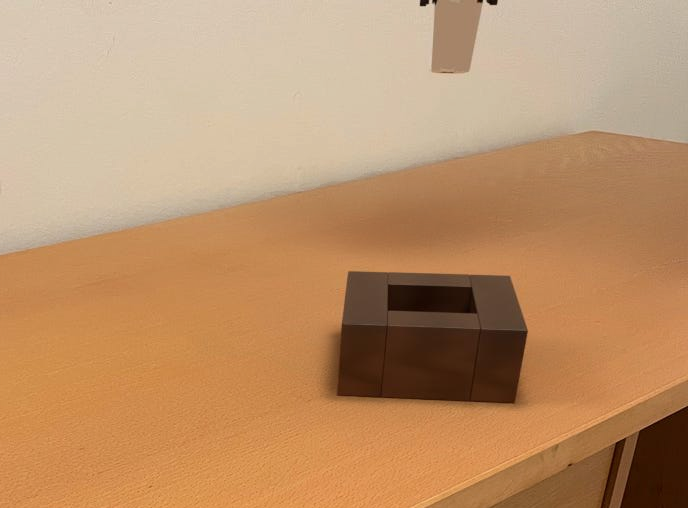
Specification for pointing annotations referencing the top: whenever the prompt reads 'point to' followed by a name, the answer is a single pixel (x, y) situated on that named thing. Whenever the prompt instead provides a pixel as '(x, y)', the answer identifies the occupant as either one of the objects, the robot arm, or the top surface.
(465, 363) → the holder
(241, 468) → the top surface
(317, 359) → the top surface
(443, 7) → the milkshake
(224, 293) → the top surface
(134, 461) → the top surface
